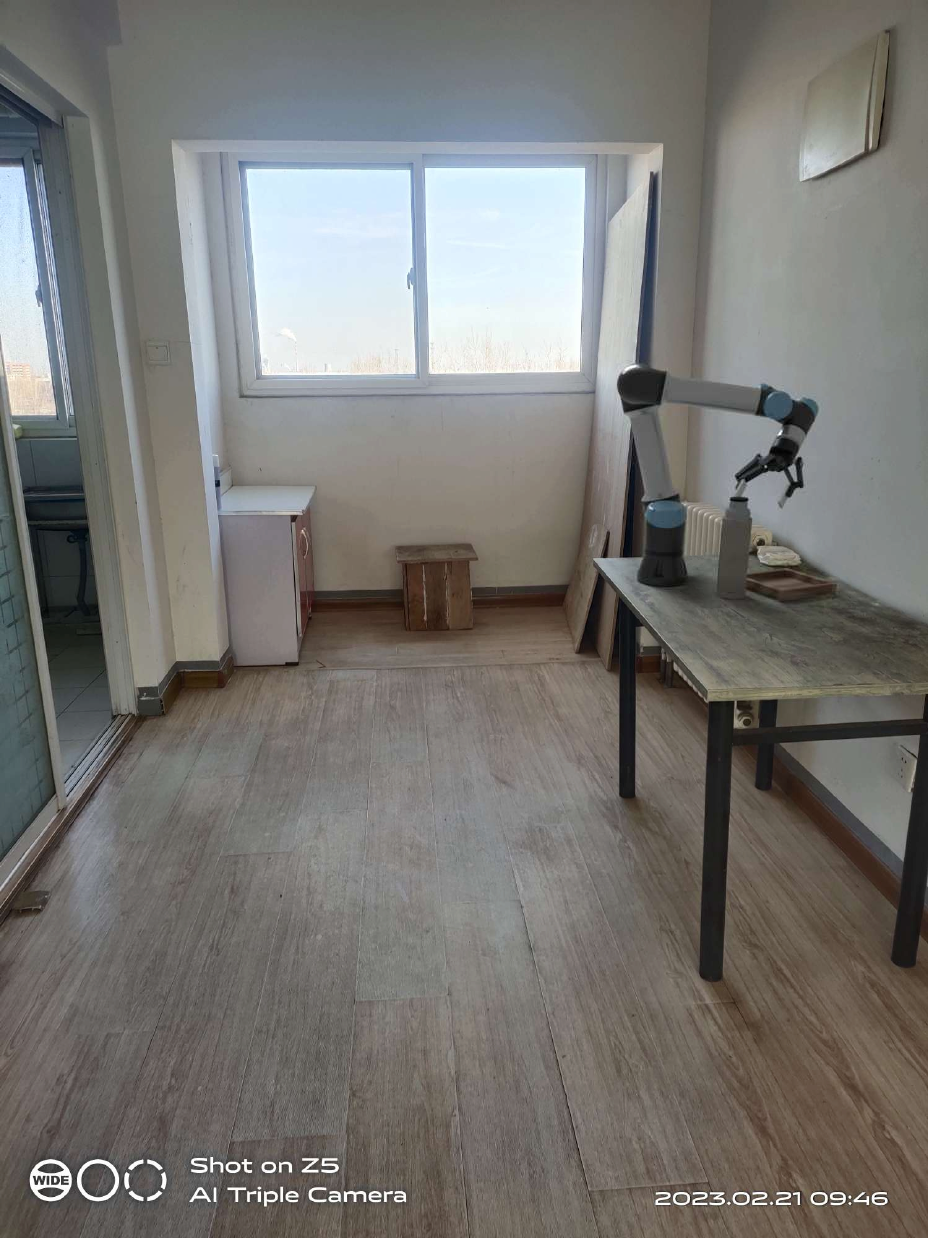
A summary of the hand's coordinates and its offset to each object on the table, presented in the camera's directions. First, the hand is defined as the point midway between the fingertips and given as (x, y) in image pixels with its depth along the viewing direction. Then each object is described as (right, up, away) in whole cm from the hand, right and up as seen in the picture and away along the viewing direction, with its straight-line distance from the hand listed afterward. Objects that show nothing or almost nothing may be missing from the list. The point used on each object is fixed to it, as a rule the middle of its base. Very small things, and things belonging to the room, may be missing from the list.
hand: (757, 502), depth 238 cm
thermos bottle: (-7, -27, 0) cm, 28 cm away
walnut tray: (+10, -24, +6) cm, 27 cm away
